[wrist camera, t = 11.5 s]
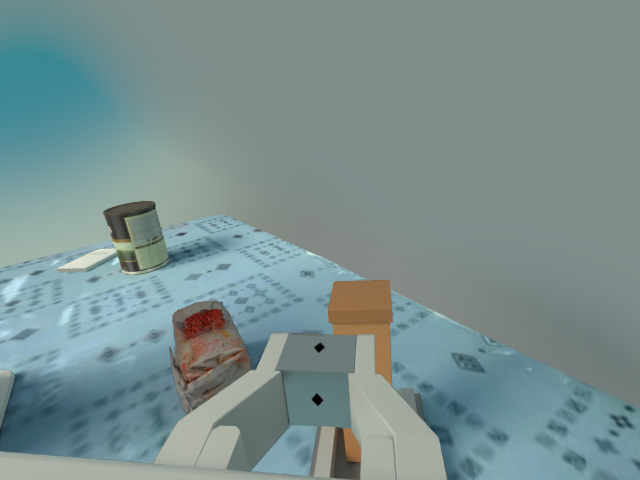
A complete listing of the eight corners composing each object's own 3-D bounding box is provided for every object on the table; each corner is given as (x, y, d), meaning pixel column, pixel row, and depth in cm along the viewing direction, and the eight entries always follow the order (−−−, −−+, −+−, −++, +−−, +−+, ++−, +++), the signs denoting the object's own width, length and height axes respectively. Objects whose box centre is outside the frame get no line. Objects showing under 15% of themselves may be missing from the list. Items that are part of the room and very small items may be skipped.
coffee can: (115, 278, 75) (95, 216, 71) (129, 261, 85) (112, 205, 80) (165, 270, 77) (148, 208, 72) (173, 253, 87) (159, 198, 82)
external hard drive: (58, 274, 83) (98, 254, 94) (87, 274, 81) (124, 253, 93) (56, 268, 82) (96, 248, 94) (84, 267, 81) (122, 247, 92)
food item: (268, 409, 37) (252, 330, 34) (191, 445, 34) (165, 363, 31) (234, 344, 49) (220, 281, 45) (174, 367, 45) (154, 300, 42)
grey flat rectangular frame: (462, 653, 19) (464, 623, 18) (287, 629, 21) (280, 600, 20) (420, 401, 36) (420, 377, 35) (324, 398, 38) (321, 376, 37)
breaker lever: (397, 466, 28) (392, 309, 23) (344, 463, 29) (327, 310, 24) (394, 421, 33) (389, 280, 28) (347, 420, 33) (334, 281, 28)
